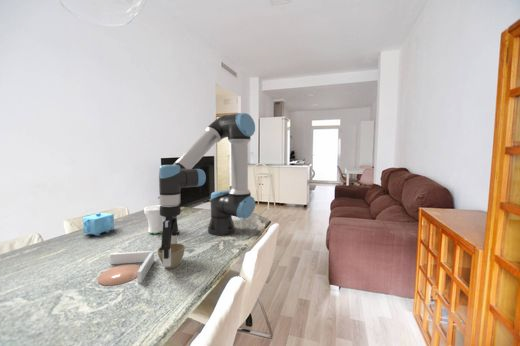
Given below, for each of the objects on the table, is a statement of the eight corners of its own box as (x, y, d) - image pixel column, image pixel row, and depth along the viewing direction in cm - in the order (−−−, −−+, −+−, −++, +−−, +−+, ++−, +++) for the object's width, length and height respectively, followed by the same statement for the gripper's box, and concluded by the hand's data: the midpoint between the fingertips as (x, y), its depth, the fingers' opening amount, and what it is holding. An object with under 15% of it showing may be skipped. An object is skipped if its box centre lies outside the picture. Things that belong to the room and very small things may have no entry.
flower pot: (190, 261, 94) (189, 245, 94) (173, 274, 85) (173, 255, 84) (170, 258, 98) (169, 241, 97) (152, 269, 88) (151, 251, 88)
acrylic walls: (154, 259, 96) (154, 250, 96) (141, 282, 79) (140, 271, 79) (112, 262, 93) (111, 253, 93) (88, 287, 76) (88, 275, 76)
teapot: (96, 239, 117) (94, 218, 116) (72, 235, 124) (71, 214, 123) (123, 230, 132) (122, 210, 131) (101, 226, 138) (100, 208, 137)
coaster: (147, 263, 92) (147, 262, 92) (134, 283, 79) (134, 282, 79) (108, 266, 90) (108, 265, 90) (89, 287, 76) (89, 286, 76)
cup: (167, 228, 136) (166, 204, 134) (166, 234, 125) (165, 209, 124) (146, 230, 132) (145, 206, 131) (143, 237, 122) (142, 210, 120)
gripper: (166, 198, 101) (167, 246, 102) (150, 212, 76) (151, 274, 78) (184, 198, 102) (185, 245, 104) (174, 212, 78) (174, 273, 79)
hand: (170, 258), depth 91 cm, fingers open, 13 cm apart
